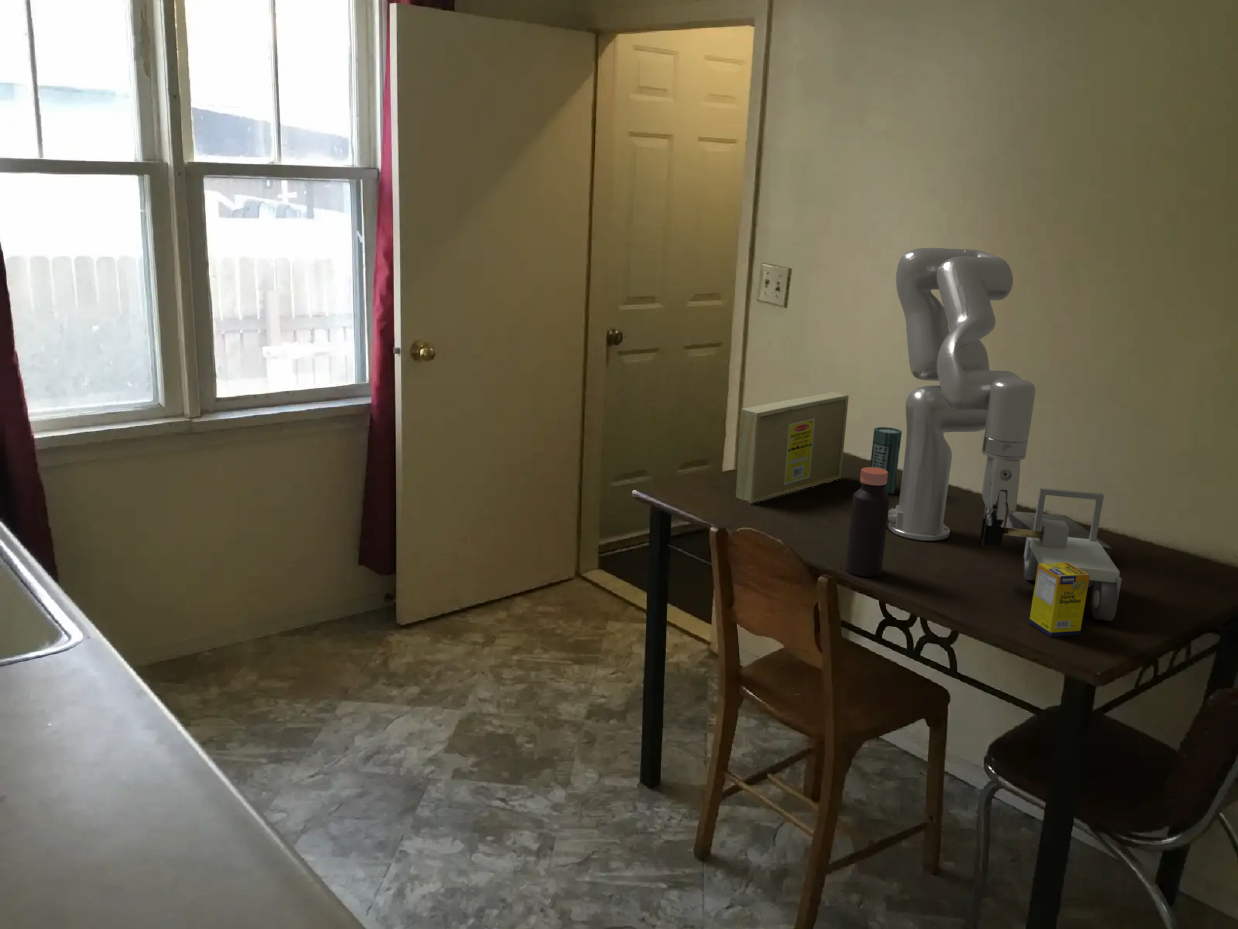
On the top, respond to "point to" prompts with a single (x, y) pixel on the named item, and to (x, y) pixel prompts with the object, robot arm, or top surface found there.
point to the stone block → (1027, 519)
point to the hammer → (1018, 532)
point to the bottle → (868, 524)
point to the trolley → (1075, 553)
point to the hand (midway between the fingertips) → (990, 542)
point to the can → (886, 453)
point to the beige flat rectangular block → (790, 445)
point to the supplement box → (1059, 599)
